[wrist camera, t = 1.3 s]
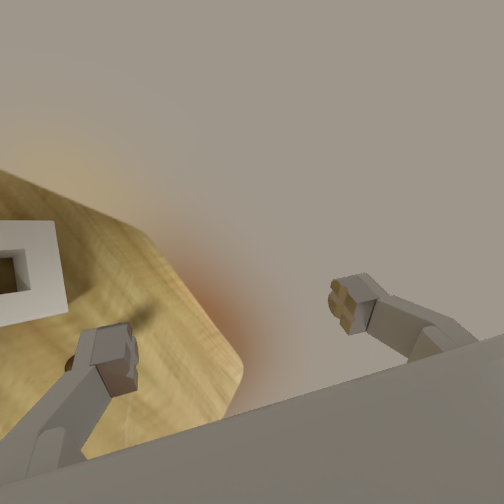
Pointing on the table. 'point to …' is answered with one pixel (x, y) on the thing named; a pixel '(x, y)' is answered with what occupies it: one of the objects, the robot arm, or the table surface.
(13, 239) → the hole block
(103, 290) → the table surface
